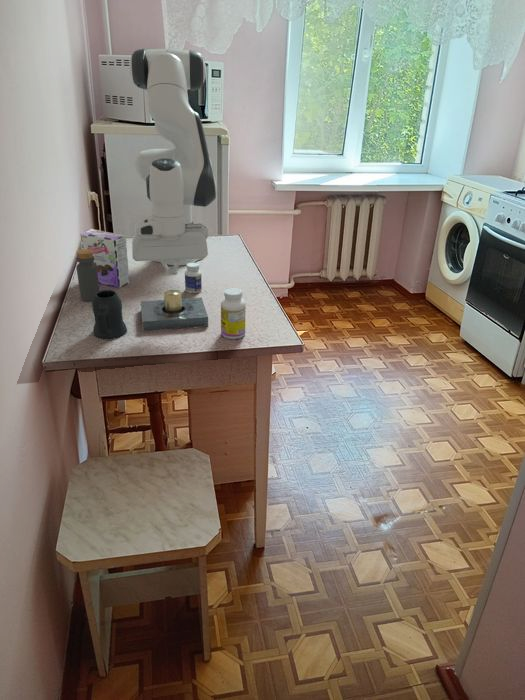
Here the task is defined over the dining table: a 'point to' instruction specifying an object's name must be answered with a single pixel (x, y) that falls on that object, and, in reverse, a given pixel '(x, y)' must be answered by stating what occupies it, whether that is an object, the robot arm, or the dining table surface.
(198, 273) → the pill bottle
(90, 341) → the dining table surface
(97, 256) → the candy box
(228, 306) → the supplement bottle
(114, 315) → the dark grey flared cylinder
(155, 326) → the jig
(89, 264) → the bottle
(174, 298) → the gold rounded cylinder
